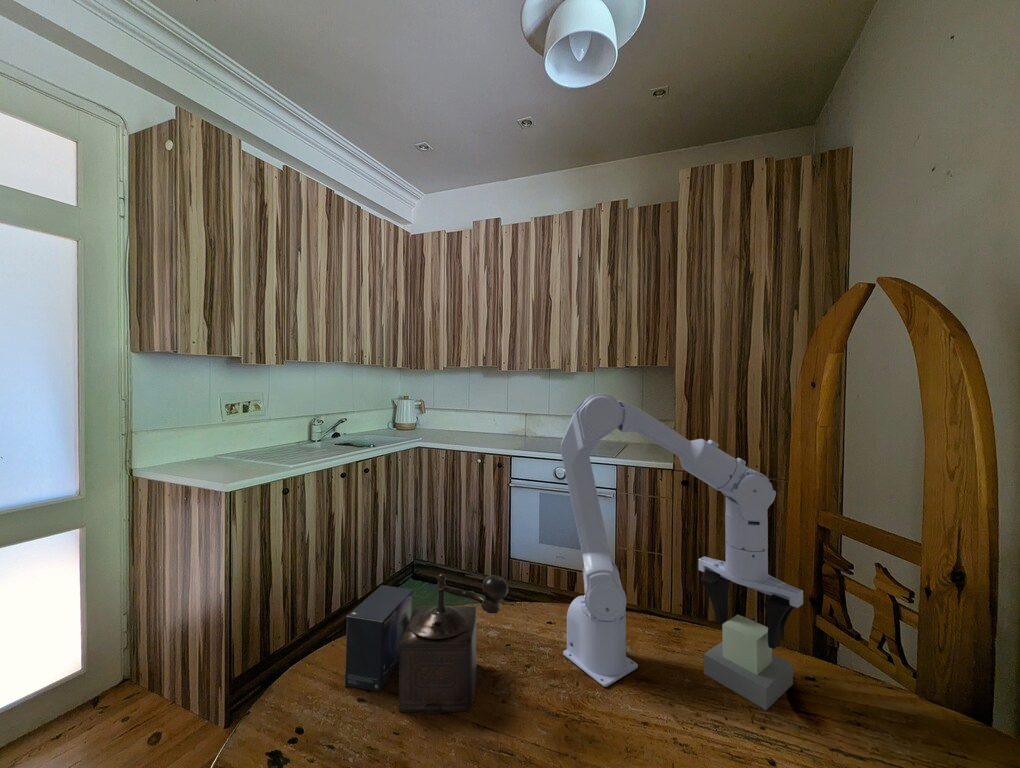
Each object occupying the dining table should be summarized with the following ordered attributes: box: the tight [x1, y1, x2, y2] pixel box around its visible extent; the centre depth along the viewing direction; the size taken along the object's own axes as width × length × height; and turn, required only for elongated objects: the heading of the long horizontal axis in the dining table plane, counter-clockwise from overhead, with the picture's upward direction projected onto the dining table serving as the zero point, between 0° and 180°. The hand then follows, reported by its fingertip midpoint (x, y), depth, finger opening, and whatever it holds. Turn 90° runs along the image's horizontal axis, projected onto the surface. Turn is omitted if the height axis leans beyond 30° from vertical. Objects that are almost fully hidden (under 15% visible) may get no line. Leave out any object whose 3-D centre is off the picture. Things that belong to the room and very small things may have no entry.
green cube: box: [721, 614, 773, 675], centre depth 62 cm, size 5×5×5 cm
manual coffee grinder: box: [398, 573, 509, 714], centre depth 60 cm, size 16×11×18 cm
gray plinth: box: [703, 641, 794, 711], centre depth 62 cm, size 9×9×3 cm
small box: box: [344, 584, 413, 692], centre depth 65 cm, size 11×6×10 cm, turn 168°
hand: (746, 633), depth 62 cm, fingers open, 7 cm apart
